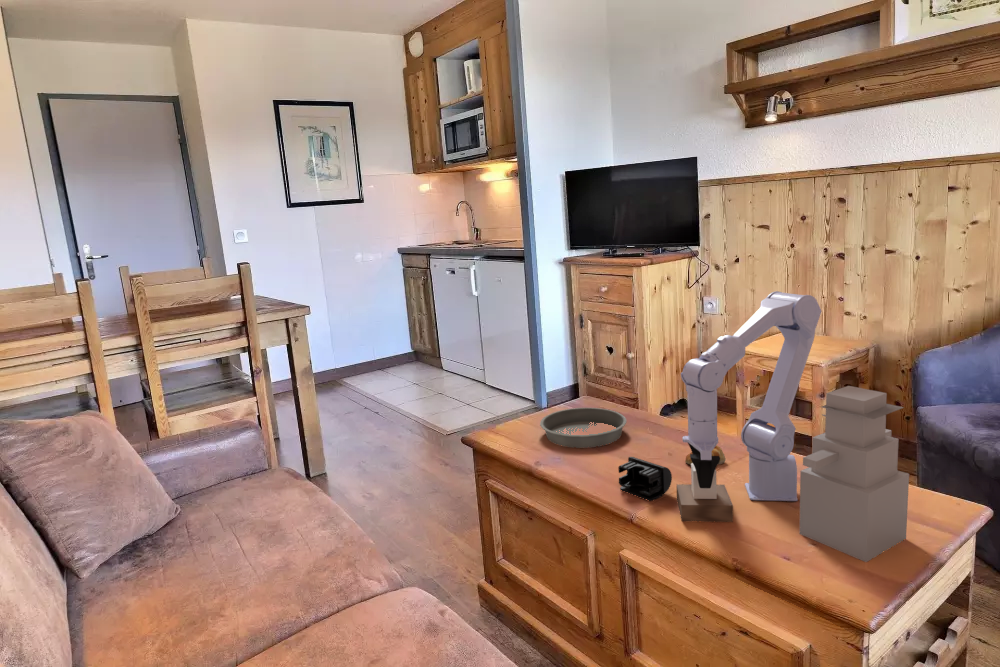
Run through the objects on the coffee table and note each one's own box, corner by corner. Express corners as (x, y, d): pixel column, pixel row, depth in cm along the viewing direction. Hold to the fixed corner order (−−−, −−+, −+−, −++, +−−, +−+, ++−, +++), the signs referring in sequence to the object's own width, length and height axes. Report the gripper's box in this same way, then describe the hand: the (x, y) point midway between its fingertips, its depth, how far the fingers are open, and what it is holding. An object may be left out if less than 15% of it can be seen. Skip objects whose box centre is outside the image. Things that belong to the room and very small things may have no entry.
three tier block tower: (922, 529, 123) (930, 386, 118) (849, 572, 111) (853, 415, 106) (855, 505, 134) (859, 374, 129) (782, 542, 122) (783, 398, 117)
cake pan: (528, 429, 195) (528, 415, 194) (603, 416, 202) (602, 402, 201) (560, 457, 172) (559, 440, 171) (643, 441, 179) (642, 425, 178)
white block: (713, 490, 137) (713, 463, 136) (716, 498, 133) (716, 471, 132) (691, 490, 138) (691, 463, 137) (693, 498, 134) (693, 471, 133)
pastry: (695, 471, 157) (694, 456, 156) (679, 461, 163) (679, 447, 163) (728, 463, 160) (727, 449, 159) (711, 455, 166) (711, 440, 165)
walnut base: (724, 501, 140) (724, 484, 140) (732, 523, 131) (732, 505, 130) (676, 501, 142) (676, 484, 141) (681, 523, 133) (681, 504, 132)
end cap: (672, 492, 146) (672, 464, 145) (652, 502, 142) (651, 473, 140) (637, 480, 154) (636, 453, 152) (617, 489, 149) (616, 461, 148)
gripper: (680, 406, 140) (681, 465, 143) (684, 429, 127) (685, 494, 129) (714, 406, 139) (714, 466, 141) (722, 429, 125) (722, 495, 128)
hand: (703, 479), depth 135 cm, fingers open, 7 cm apart
